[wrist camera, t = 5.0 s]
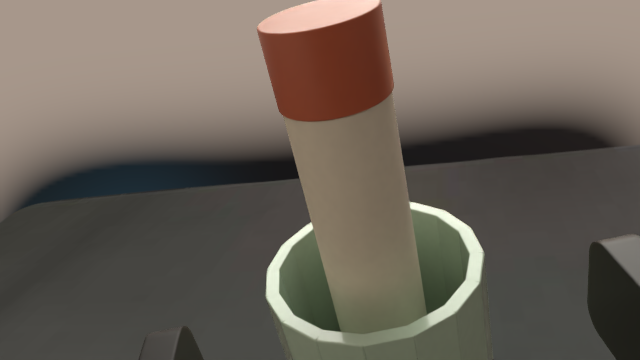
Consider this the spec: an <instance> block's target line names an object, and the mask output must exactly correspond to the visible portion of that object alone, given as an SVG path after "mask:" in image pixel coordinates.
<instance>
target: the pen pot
mask: <svg viewBox="0 0 640 360" xmlns="http://www.w3.org/2000/svg"><path fill="white" fill-rule="evenodd" d="M409 203H410V209H411V216H412V222H413V228H414V235H415V241H416V247H417V254H418V260H419V267H420V273H421V279H422V286H423V292H424V298H425V305H426V311H427V315H426V316H424V317H422V318H420V319H418V320H417V321H415V322H413V323H411V324H409V325H407V326H402V327H397V328H392V329H387V330H382V331H377V332H372V333H367V334H357V333H348V332H341V330H340V327H339V323H338V319H337V316H336V312H335V308H334V304H333V301H332V297H331V293H330V289H329V286H328V282H327V278H326V274H325V271H324V267H323V263H322V259H321V256H320V252H319V248H318V244H317V241H316V237H315V233H314V229H313V226H312V222H311V223H309V224H308V225H306V226H305V227H304V228H302V229H301V230H300V231H299V232H297V233H296V234H295V235H294V236H293V237H291V238H290V239H289V240H288V241H286V242H285V243H284V244H283V245H282V246H281V247H280V249H279V251H278V252H277V254H276V256H275V257H274V259H273V261H272V262H271V264H270V266H269V267H268V269H267V277H266V301H267V303H268V306H269V309H270V312H271V315H272V318H273V321H274V324H275V327H276V329H277V332H278V335H279V338H280V341H281V344H282V347H283V350H284V353H285V355H286V358H287V360H493V353H492V340H491V328H490V315H489V303H488V291H487V278H486V266H485V255H484V251H483V249H482V247H481V245H480V244H479V242H478V240H477V238H476V236H475V234H474V232H473V231H472V229H471V228H470V227H469V226H468V225H466V224H465V223H463V222H462V221H460V220H459V219H457V218H456V217H454V216H453V215H451V214H450V213H448V212H447V211H444V210H441V209H437V208H433V207H429V206H426V205H422V204H418V203H414V202H409Z"/></svg>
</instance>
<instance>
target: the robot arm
mask: <svg viewBox="0 0 640 360" xmlns="http://www.w3.org/2000/svg"><path fill="white" fill-rule="evenodd" d="M587 303H588V310H589V314H590V317H591V320H592V322H593V325H594V327H595V329H596V331H597V332H598V334H599V336H600V337H601V338H602V340H603V341H604V343H605V344H606V345H607V347H608V348H609V350H610V351H611V352H612V354H613V355H614V357H615V358H616V359H617V360H640V236H638V235H636V234H629V235H625V236H620V237H615V238H610V239H605V240H601V241H596V242H593V243H592V244H591V246H590V250H589V272H588V298H587ZM139 360H204V359H203V357H202V355H201V353H200V350H199V348H198V346H197V344H196V341H195V339H194V337H193V335H192V333H191V331H190V329H189V328H188V327H187V326H182V327H177V328H172V329H167V330H163V331H158V332H153V333H149V334H148V335H147V336H146V338H145V340H144V343H143V347H142V350H141V353H140V357H139Z"/></svg>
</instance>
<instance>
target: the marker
mask: <svg viewBox="0 0 640 360" xmlns="http://www.w3.org/2000/svg"><path fill="white" fill-rule="evenodd" d="M257 31H258V35H259V39H260V43H261V46H262V50H263V53H264V57H265V61H266V65H267V69H268V72H269V76H270V80H271V83H272V87H273V91H274V94H275V98H276V102H277V106H278V109H279V112H280V113H281V114H282V115H283V117H284V121H285V125H286V128H287V132H288V135H289V140H290V143H291V147H292V150H293V154H294V158H295V162H296V165H297V170H298V173H299V177H300V181H301V185H302V188H303V192H304V196H305V200H306V203H307V207H308V211H309V214H310V218H311V222H312V226H313V229H314V233H315V237H316V241H317V244H318V248H319V252H320V256H321V259H322V263H323V267H324V271H325V274H326V278H327V282H328V286H329V289H330V293H331V297H332V301H333V304H334V308H335V312H336V316H337V319H338V323H339V327H340V330H341V332H348V333H357V334H367V333H372V332H377V331H382V330H387V329H392V328H397V327H402V326H407V325H409V324H411V323H413V322H415V321H417V320H418V319H420V318H422V317H424V316H426V315H427V311H426V305H425V298H424V292H423V286H422V279H421V273H420V267H419V260H418V254H417V247H416V241H415V235H414V228H413V222H412V216H411V209H410V203H409V196H408V190H407V184H406V177H405V171H404V165H403V158H402V152H401V146H400V139H399V133H398V126H397V120H396V114H395V108H394V101H393V94H392V91H393V88H394V83H393V76H392V69H391V63H390V56H389V50H388V44H387V37H386V30H385V24H384V17H383V11H382V4H381V0H317V1H313V2H309V3H305V4H302V5H298V6H295V7H292V8H289V9H286V10H283V11H281V12H279V13H276V14H274V15H272V16H270V17H269V18H267V19H265V20H264V21H262V22H261V23H260V24H259V25H258V27H257Z"/></svg>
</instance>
